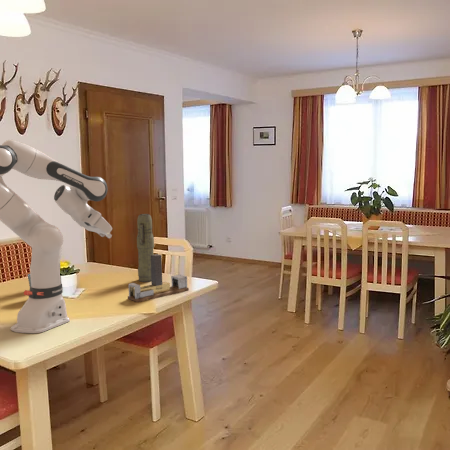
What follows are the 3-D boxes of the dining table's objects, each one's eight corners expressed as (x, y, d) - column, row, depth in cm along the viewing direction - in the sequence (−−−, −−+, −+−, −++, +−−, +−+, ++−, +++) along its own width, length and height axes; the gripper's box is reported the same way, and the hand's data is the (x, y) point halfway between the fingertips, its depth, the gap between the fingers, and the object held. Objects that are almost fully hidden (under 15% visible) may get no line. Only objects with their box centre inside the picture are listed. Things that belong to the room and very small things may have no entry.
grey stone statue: (157, 277, 261) (155, 213, 257) (152, 282, 249) (150, 215, 245) (141, 277, 262) (138, 213, 257) (135, 282, 250) (133, 215, 246)
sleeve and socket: (136, 301, 215) (135, 286, 214) (129, 299, 220) (128, 283, 219) (187, 289, 234) (187, 275, 233) (180, 287, 239) (179, 273, 238)
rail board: (137, 302, 214) (137, 299, 214) (127, 298, 220) (127, 296, 220) (188, 290, 234) (188, 287, 233) (178, 287, 239) (178, 284, 239)
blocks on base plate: (137, 297, 217) (135, 259, 214) (133, 296, 219) (131, 258, 217) (169, 290, 229) (168, 253, 226) (165, 289, 231) (164, 252, 229)
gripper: (70, 220, 213) (91, 239, 221) (91, 224, 198) (114, 244, 206) (79, 209, 215) (100, 228, 223) (101, 212, 200) (122, 233, 208)
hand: (107, 236), depth 214 cm, fingers open, 4 cm apart
